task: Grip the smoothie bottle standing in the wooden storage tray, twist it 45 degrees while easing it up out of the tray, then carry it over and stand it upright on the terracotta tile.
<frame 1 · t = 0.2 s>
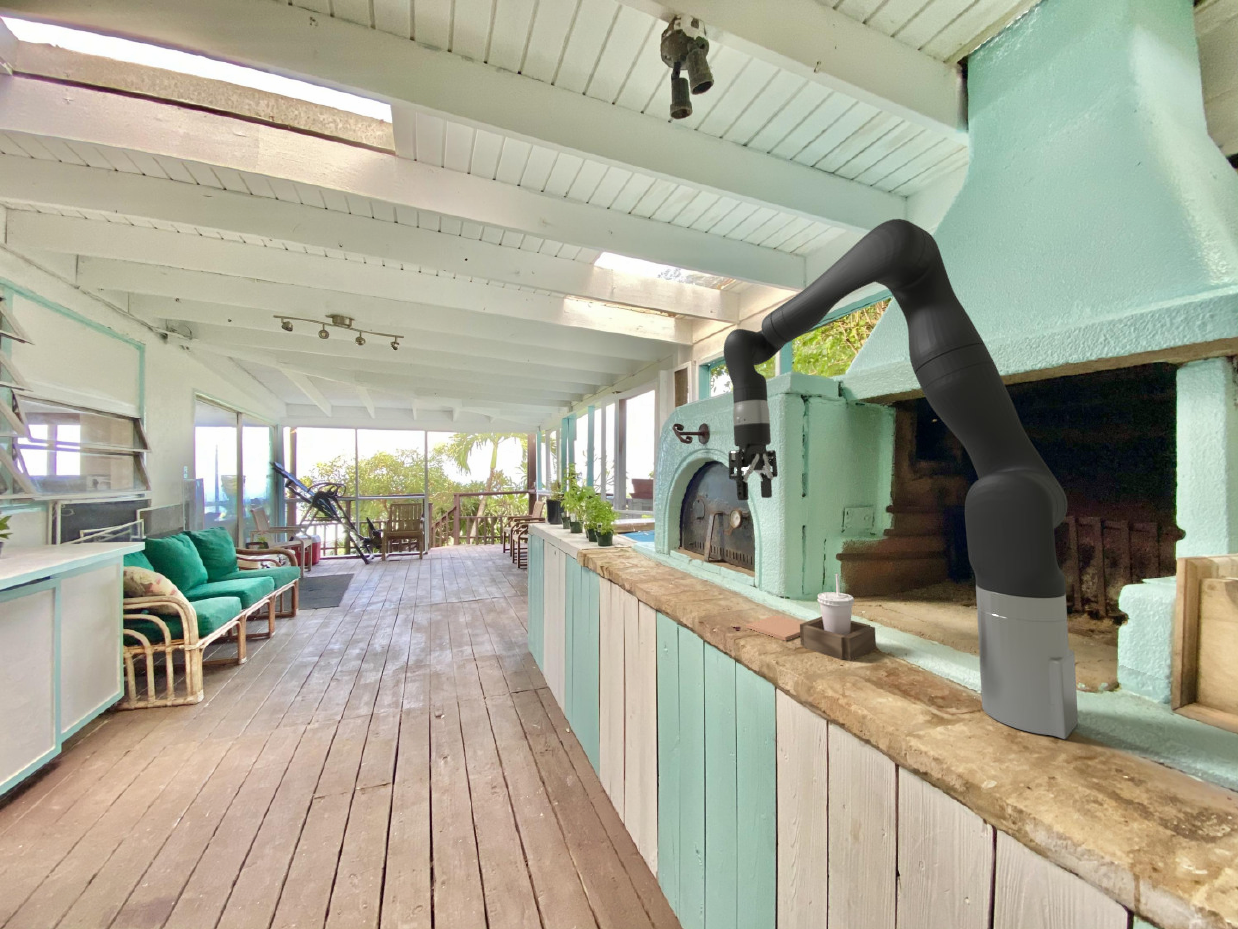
hand: (755, 498, 99), 28 cm above the worktop, tool pointing down, fingers open, 8 cm apart
wooden storage tray: (837, 646, 89), on the worktop
terracotta tile: (780, 629, 99), on the worktop
smoothie: (837, 648, 89), resting in wooden storage tray
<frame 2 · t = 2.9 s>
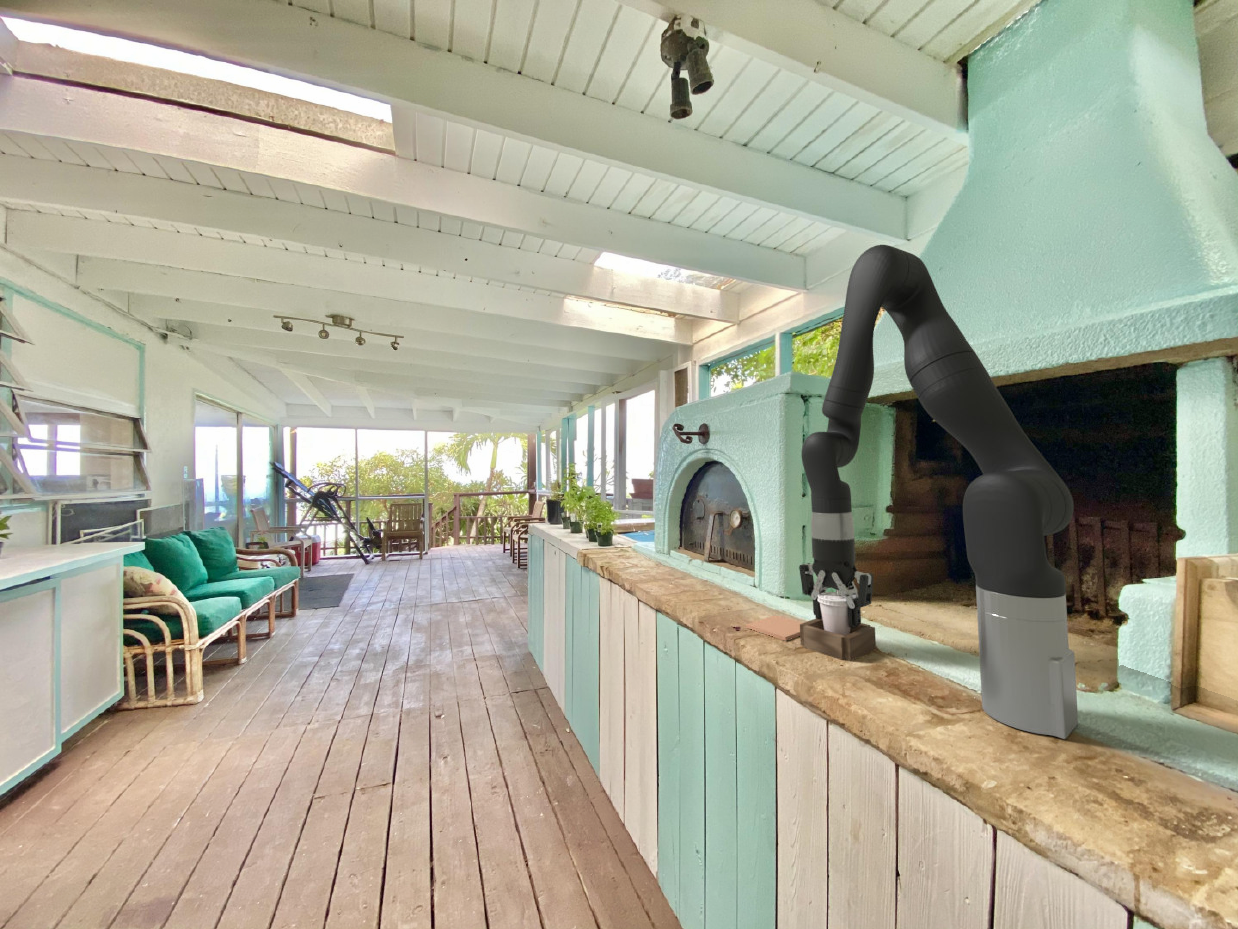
hand: (836, 622, 89), 5 cm above the worktop, tool pointing down, fingers closed on smoothie, 6 cm apart
smoothie: (837, 648, 89), resting in wooden storage tray, touching gripper
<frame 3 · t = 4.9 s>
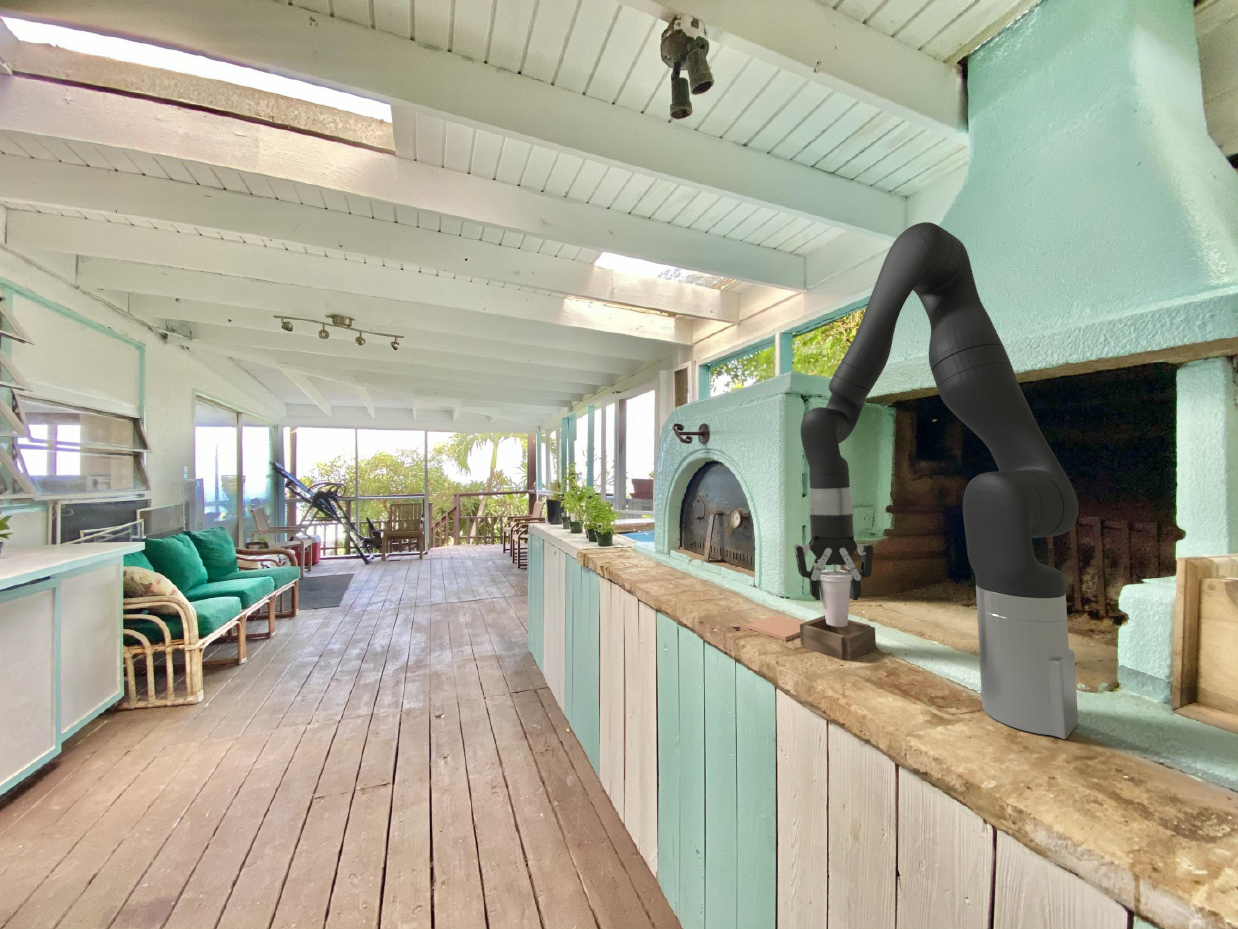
hand: (835, 598, 88), 9 cm above the worktop, tool pointing down, fingers closed on smoothie, 6 cm apart
smoothie: (836, 624, 88), point 4 cm above the worktop, touching gripper
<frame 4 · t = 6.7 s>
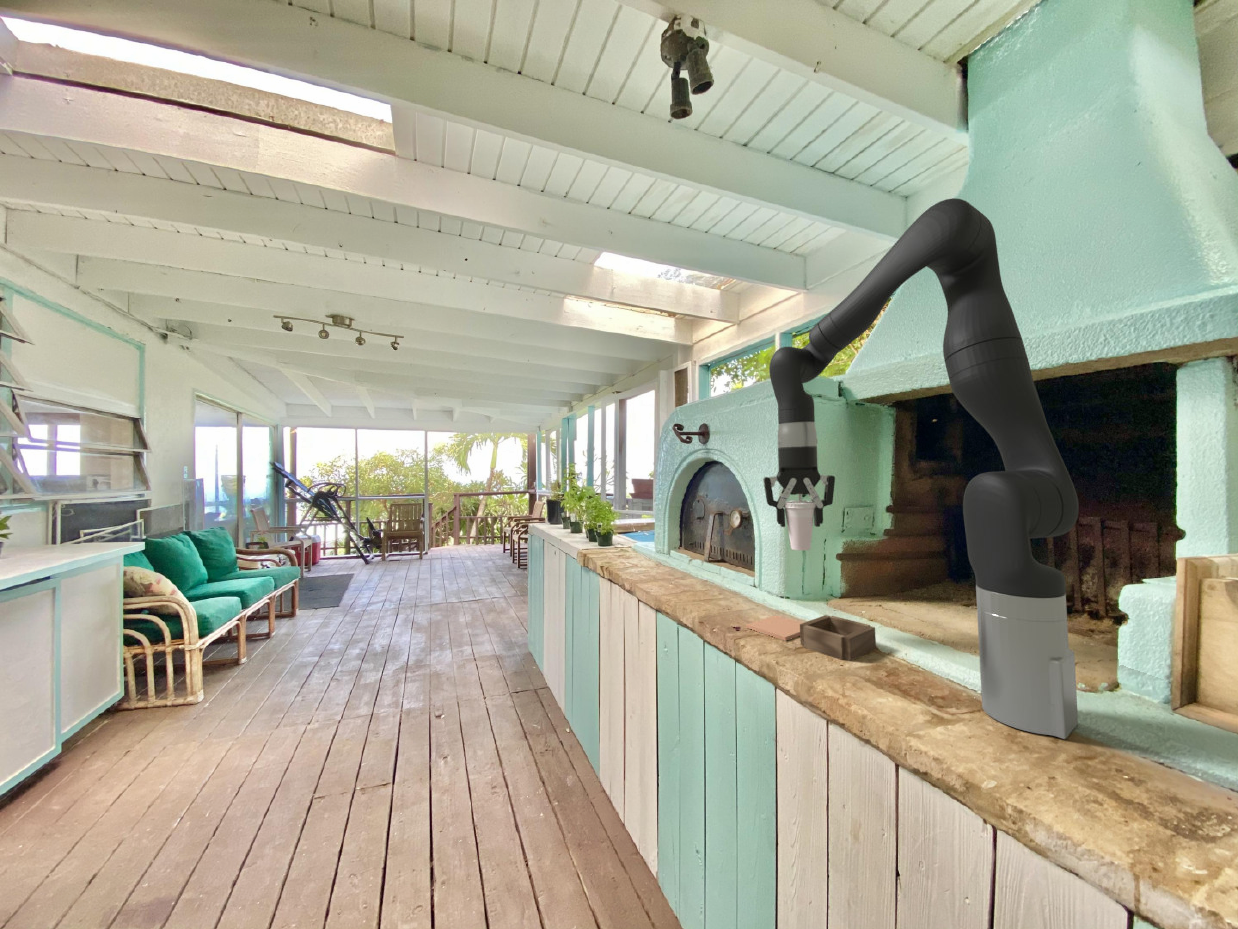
hand: (799, 526, 95), 23 cm above the worktop, tool pointing down, fingers closed on smoothie, 6 cm apart
smoothie: (800, 549, 95), point 18 cm above the worktop, touching gripper
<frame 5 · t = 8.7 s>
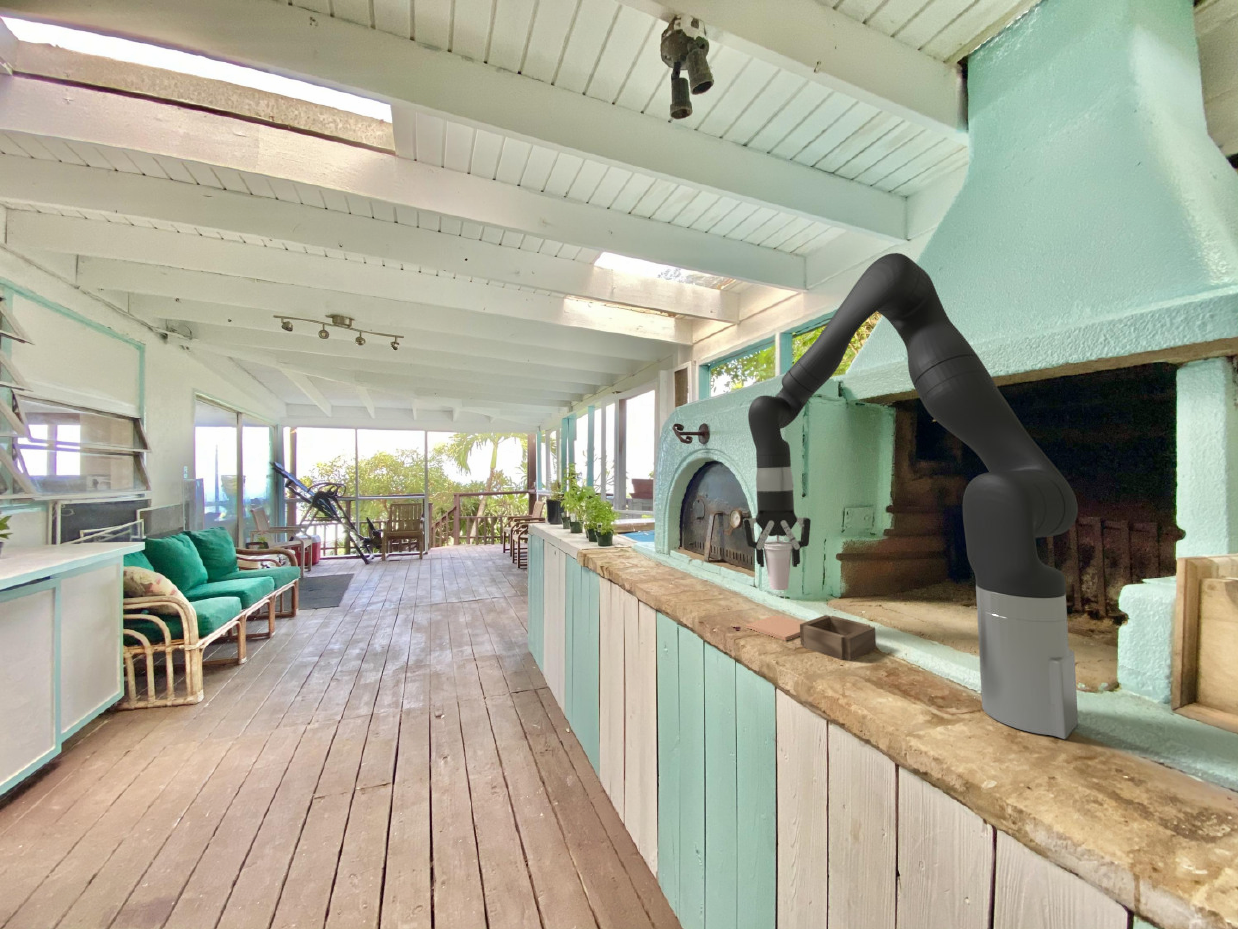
hand: (778, 566, 100), 14 cm above the worktop, tool pointing down, fingers closed on smoothie, 6 cm apart
smoothie: (779, 588, 99), point 9 cm above the worktop, touching gripper
when the fingers open (6 cm above the worktop, at t = 10.7 s): smoothie stays where it is, resting on terracotta tile.
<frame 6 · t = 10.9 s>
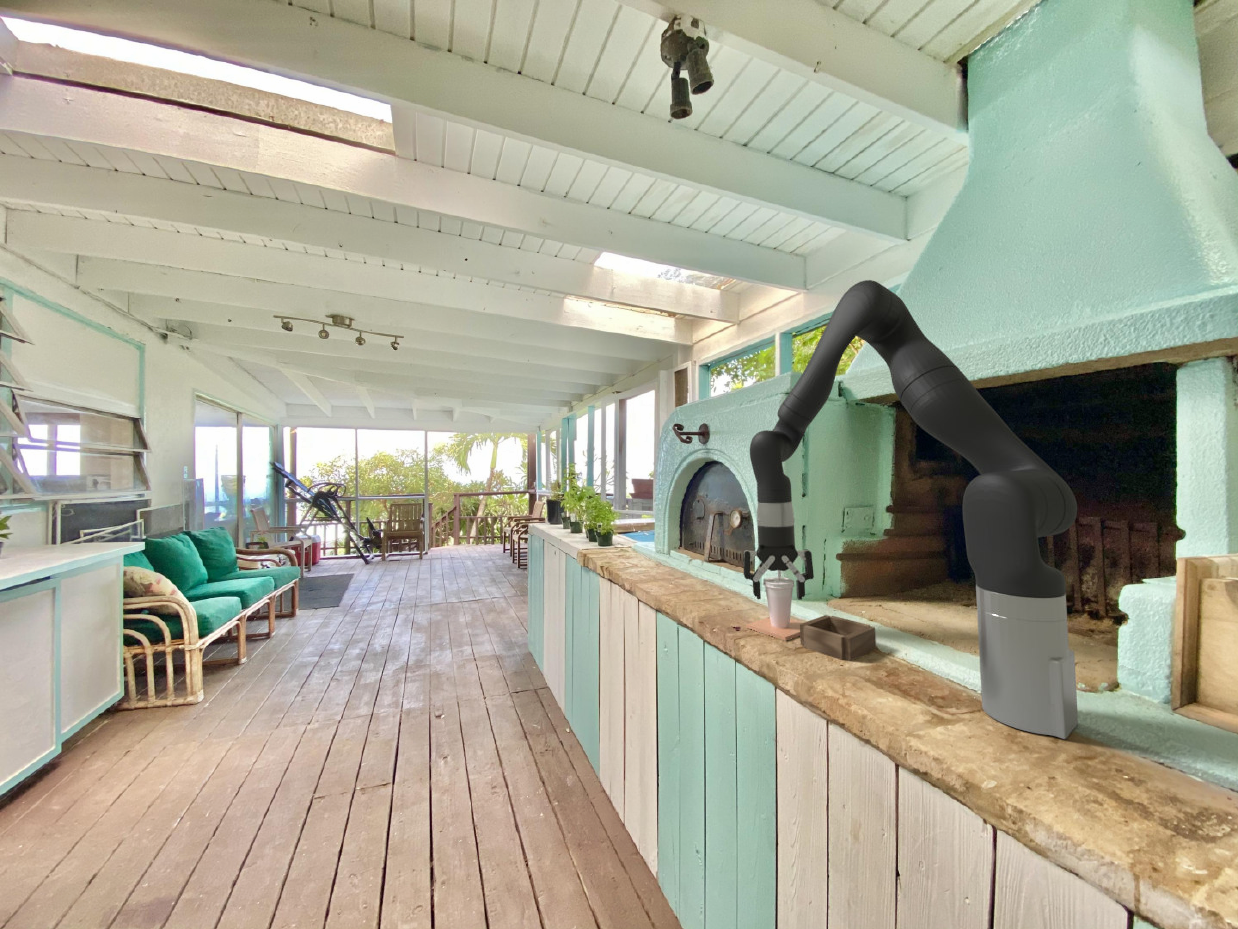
hand: (778, 598, 99), 7 cm above the worktop, tool pointing down, fingers open, 8 cm apart
smoothie: (780, 626, 99), point 1 cm above the worktop, touching terracotta tile
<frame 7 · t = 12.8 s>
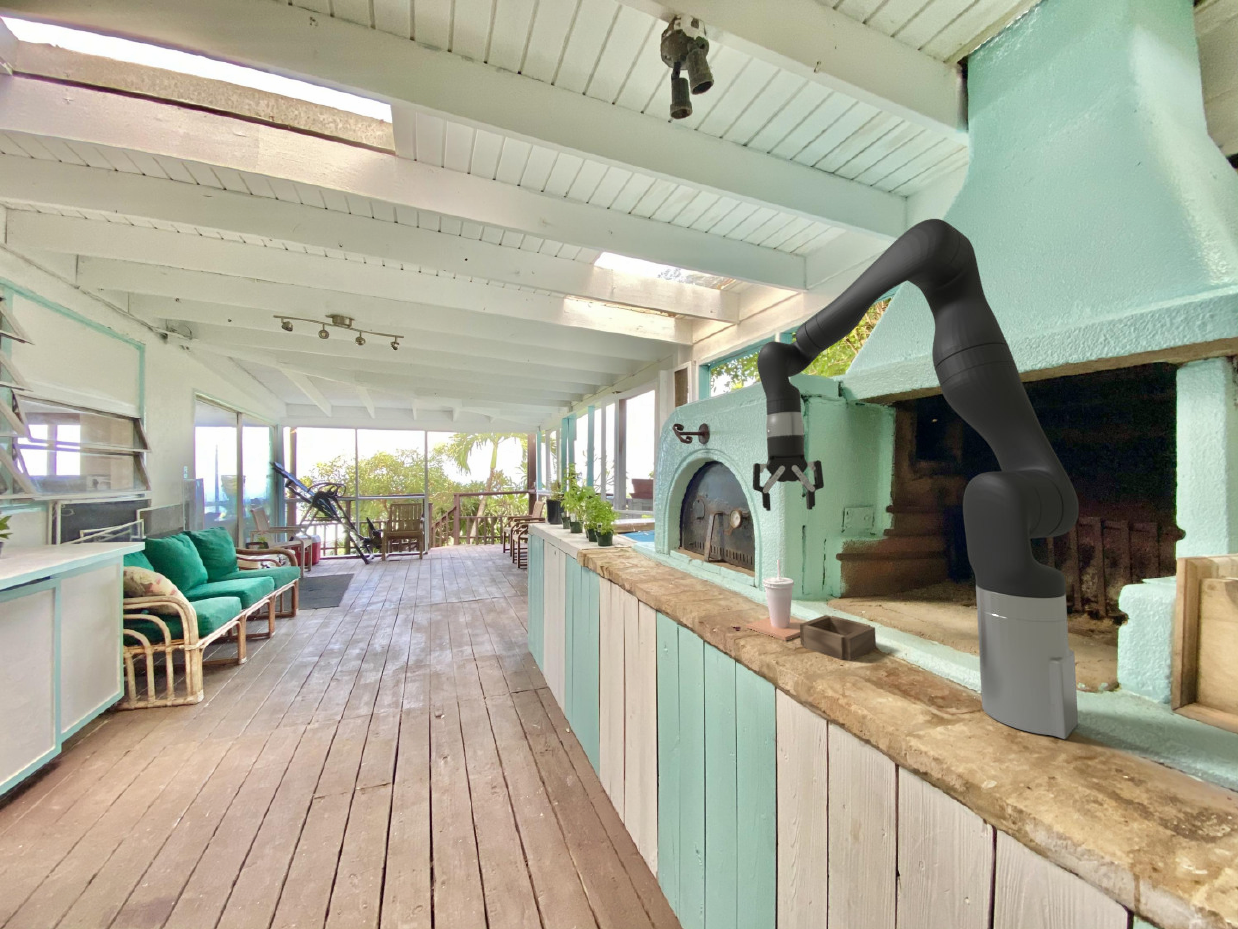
hand: (788, 510, 100), 26 cm above the worktop, tool pointing down, fingers open, 8 cm apart
nothing on the worktop moved.
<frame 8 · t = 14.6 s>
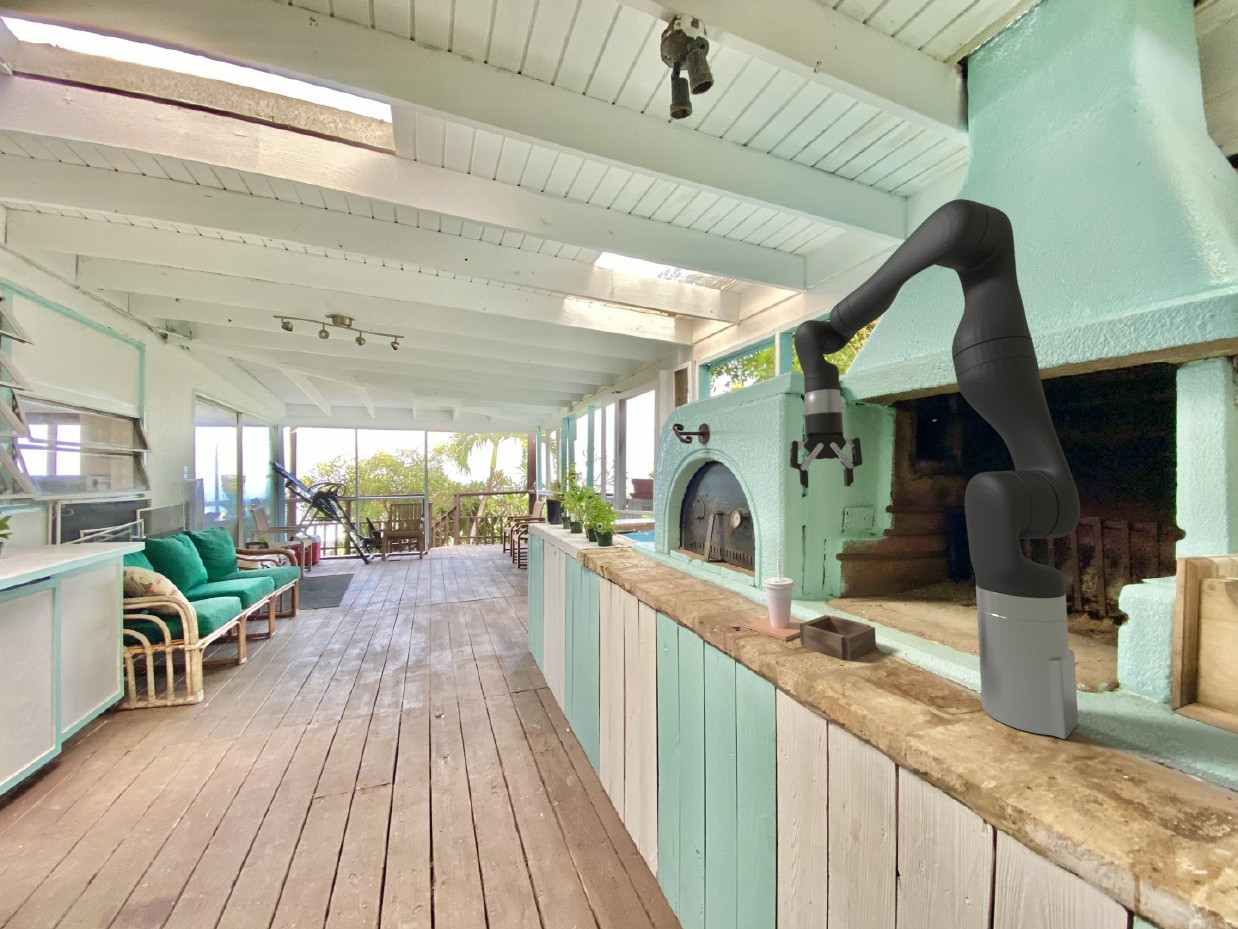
hand: (826, 487, 100), 30 cm above the worktop, tool pointing down, fingers open, 8 cm apart
nothing on the worktop moved.
at the end: smoothie 0.0 cm off-centre on the terracotta tile, point 0.6 cm above the terracotta tile's base; smoothie tilted 0°; the gripper is holding nothing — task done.
